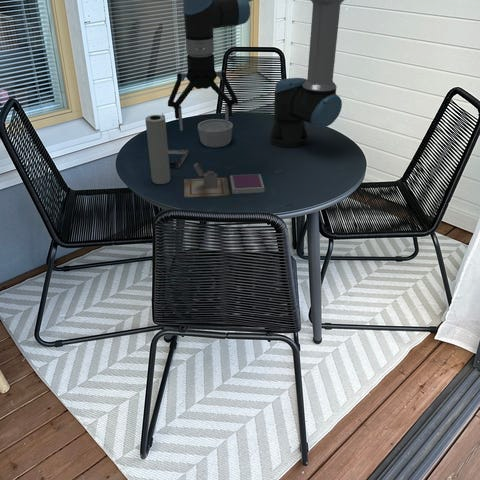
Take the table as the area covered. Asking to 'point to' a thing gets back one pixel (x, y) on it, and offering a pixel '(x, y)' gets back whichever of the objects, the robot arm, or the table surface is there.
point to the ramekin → (215, 133)
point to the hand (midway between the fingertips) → (204, 127)
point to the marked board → (197, 188)
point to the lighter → (207, 177)
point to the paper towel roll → (158, 148)
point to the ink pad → (246, 184)
